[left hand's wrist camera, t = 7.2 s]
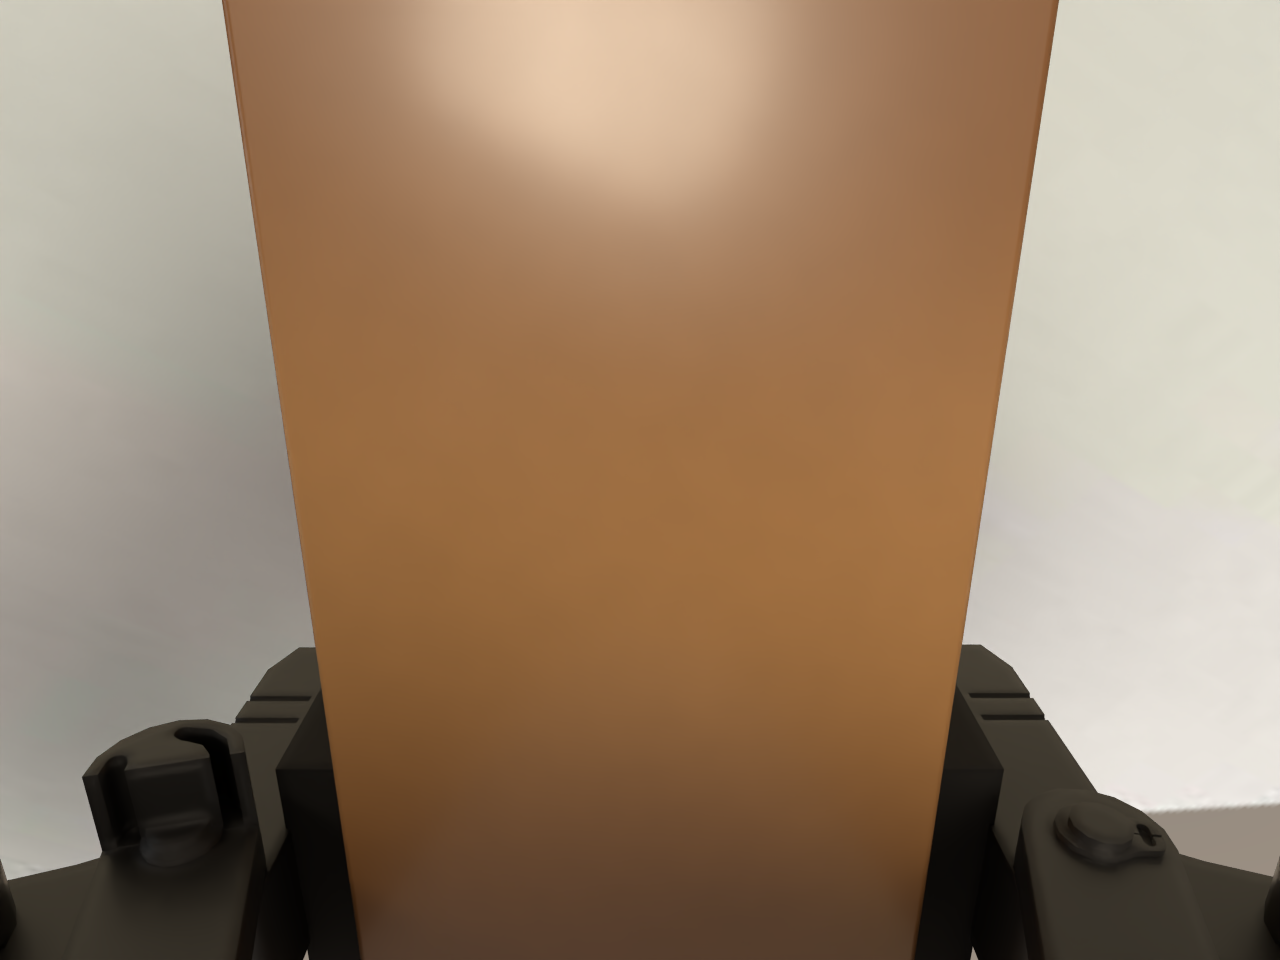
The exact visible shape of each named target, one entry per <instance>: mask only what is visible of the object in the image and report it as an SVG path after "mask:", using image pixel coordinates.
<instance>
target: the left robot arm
mask: <svg viewBox="0 0 1280 960" xmlns="http://www.w3.org/2000/svg"><path fill="white" fill-rule="evenodd" d="M82 779H83V782H84V786H85V790H86V793H87V797H88V800H89V804H90V808H91V811H92V815H93V819H94V822H95V826H96V830H97V833H98V837H99V841H100V844H101V848H102V854H101V856H100V858H98V859H94V860H91V861H88V862H84V863H81V864H77V865H74V866H69V867H65V868H60V869H56V870H52V871H47V872H43V873H38V874H34V875H30V876H25V877H21V878H17V879H12V880H8V881H7V878H6V875H5V872H4V869H3V866H2V863H1V860H0V960H303V958H304V956H305V953H306V951H308V956H309V960H361V958H360V951H359V944H358V937H357V930H356V923H355V917H354V910H353V903H352V896H351V889H350V882H349V875H348V868H347V861H346V854H345V847H344V840H343V834H342V827H341V820H340V813H339V806H338V799H337V792H336V785H335V778H334V771H333V764H332V757H331V751H330V744H329V737H328V730H327V723H326V716H325V709H324V702H323V695H322V688H321V681H320V674H319V668H318V661H317V654H316V648H298V649H297V650H295V651H294V652H292V653H291V654H290V655H288V656H287V657H285V658H284V659H283V660H281V661H280V662H278V663H277V664H276V665H274V666H273V667H271V668H270V669H269V670H268V671H267V672H266V674H265V675H264V677H263V678H262V680H261V681H260V683H259V684H258V686H257V687H256V688H255V690H254V691H253V693H252V694H251V696H250V701H247V702H246V703H245V705H244V706H243V708H242V709H241V711H240V712H239V714H238V715H237V716H236V722H235V723H232V724H231V725H228V724H224V723H220V722H216V721H212V720H208V719H202V720H179V721H175V722H171V723H167V724H162V725H158V726H154V727H150V728H148V729H145V730H143V731H141V732H139V733H136V734H134V735H132V736H130V737H127V738H125V739H123V740H121V741H119V742H118V743H116V744H115V745H114V746H112V747H111V748H109V749H108V750H107V751H105V752H104V753H103V754H101V755H100V756H98V757H97V758H96V759H95V761H94V762H93V763H92V764H91V766H90V767H89V768H88V770H87V771H86V772H85V774H84V775H83V776H82ZM972 947H973V948H974V950H975V953H976V955H977V958H978V960H1280V858H1279V861H1278V864H1277V867H1276V870H1275V873H1274V876H1273V877H1271V876H1267V875H1263V874H1258V873H1254V872H1249V871H1245V870H1240V869H1236V868H1232V867H1227V866H1223V865H1218V864H1214V863H1210V862H1205V861H1202V860H1198V859H1195V858H1192V857H1188V856H1185V855H1181V854H1179V852H1178V850H1177V848H1176V847H1175V845H1174V844H1173V842H1172V841H1171V839H1170V838H1169V836H1168V835H1167V833H1166V832H1165V830H1164V829H1163V828H1162V827H1160V826H1159V825H1158V824H1157V823H1156V822H1154V821H1153V820H1152V819H1151V818H1149V817H1148V816H1147V815H1146V814H1145V813H1143V812H1142V811H1140V810H1138V809H1136V808H1134V807H1132V806H1130V805H1128V804H1126V803H1124V802H1122V801H1120V800H1118V799H1116V798H1114V797H1111V796H1107V795H1104V794H1100V793H1098V792H1097V791H1096V790H1095V788H1094V787H1093V785H1092V784H1091V782H1090V781H1089V779H1088V778H1087V776H1086V775H1085V773H1084V772H1083V770H1082V769H1081V768H1080V766H1079V765H1078V763H1077V762H1076V760H1075V759H1074V757H1073V756H1072V754H1071V753H1070V751H1069V750H1068V748H1067V747H1066V746H1065V744H1064V743H1063V741H1062V740H1061V738H1060V737H1059V735H1058V734H1057V732H1056V731H1055V729H1054V728H1053V726H1052V725H1051V724H1050V722H1049V721H1048V720H1045V718H1044V713H1043V712H1042V710H1041V709H1040V707H1039V706H1038V704H1037V703H1036V702H1035V700H1034V699H1033V698H1030V693H1029V691H1028V690H1027V688H1026V687H1025V685H1024V684H1023V683H1022V681H1021V680H1020V678H1019V677H1018V675H1017V674H1016V672H1015V671H1014V669H1013V668H1012V667H1011V666H1010V665H1008V664H1007V663H1006V662H1004V661H1003V660H1001V659H1000V658H999V657H997V656H996V655H994V654H993V653H992V652H990V651H989V650H987V649H986V648H985V647H983V646H982V645H962V647H961V653H960V660H959V666H958V673H957V680H956V686H955V693H954V700H953V706H952V713H951V720H950V726H949V733H948V739H947V746H946V753H945V759H944V766H943V773H942V779H941V786H940V792H939V799H938V806H937V812H936V819H935V826H934V832H933V839H932V846H931V852H930V859H929V865H928V872H927V879H926V885H925V892H924V899H923V905H922V912H921V919H920V925H919V932H918V938H917V945H916V952H915V958H914V960H970V958H971V953H972Z"/></svg>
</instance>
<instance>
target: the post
mask: <svg viewBox="0 0 1280 960" xmlns="http://www.w3.org/2000/svg"><path fill="white" fill-rule="evenodd" d="M1058 3H1059V0H222V4H223V10H224V17H225V24H226V31H227V38H228V45H229V52H230V59H231V66H232V73H233V80H234V87H235V93H236V100H237V107H238V114H239V121H240V128H241V135H242V142H243V149H244V156H245V163H246V170H247V176H248V183H249V190H250V197H251V204H252V211H253V218H254V225H255V232H256V239H257V246H258V253H259V259H260V266H261V273H262V280H263V287H264V294H265V301H266V308H267V315H268V322H269V329H270V336H271V342H272V349H273V356H274V363H275V370H276V377H277V384H278V391H279V398H280V405H281V412H282V419H283V425H284V432H285V439H286V446H287V453H288V460H289V467H290V474H291V481H292V488H293V495H294V502H295V508H296V515H297V522H298V529H299V536H300V543H301V550H302V557H303V564H304V571H305V578H306V585H307V591H308V598H309V605H310V612H311V619H312V626H313V633H314V640H315V647H316V654H317V661H318V668H319V674H320V681H321V688H322V695H323V702H324V709H325V716H326V723H327V730H328V737H329V744H330V751H331V757H332V764H333V771H334V778H335V785H336V792H337V799H338V806H339V813H340V820H341V827H342V834H343V840H344V847H345V854H346V861H347V868H348V875H349V882H350V889H351V896H352V903H353V910H354V917H355V923H356V930H357V937H358V944H359V951H360V958H361V960H914V958H915V952H916V945H917V938H918V932H919V925H920V919H921V912H922V905H923V899H924V892H925V885H926V879H927V872H928V865H929V859H930V852H931V846H932V839H933V832H934V826H935V819H936V812H937V806H938V799H939V792H940V786H941V779H942V773H943V766H944V759H945V753H946V746H947V739H948V733H949V726H950V720H951V713H952V706H953V700H954V693H955V686H956V680H957V673H958V666H959V660H960V653H961V647H962V640H963V633H964V627H965V620H966V613H967V607H968V600H969V594H970V587H971V580H972V574H973V567H974V560H975V554H976V547H977V540H978V534H979V527H980V521H981V514H982V507H983V501H984V494H985V487H986V481H987V474H988V468H989V461H990V454H991V448H992V441H993V434H994V428H995V421H996V414H997V408H998V401H999V395H1000V388H1001V381H1002V375H1003V368H1004V361H1005V355H1006V348H1007V341H1008V335H1009V328H1010V322H1011V315H1012V308H1013V302H1014V295H1015V288H1016V282H1017V275H1018V269H1019V262H1020V255H1021V249H1022V242H1023V235H1024V229H1025V222H1026V215H1027V209H1028V202H1029V196H1030V189H1031V182H1032V176H1033V169H1034V162H1035V156H1036V149H1037V143H1038V136H1039V129H1040V123H1041V116H1042V109H1043V103H1044V96H1045V89H1046V83H1047V76H1048V70H1049V63H1050V56H1051V50H1052V43H1053V36H1054V30H1055V23H1056V17H1057V10H1058Z"/></svg>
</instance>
